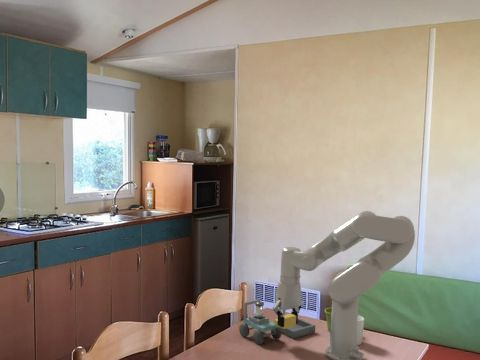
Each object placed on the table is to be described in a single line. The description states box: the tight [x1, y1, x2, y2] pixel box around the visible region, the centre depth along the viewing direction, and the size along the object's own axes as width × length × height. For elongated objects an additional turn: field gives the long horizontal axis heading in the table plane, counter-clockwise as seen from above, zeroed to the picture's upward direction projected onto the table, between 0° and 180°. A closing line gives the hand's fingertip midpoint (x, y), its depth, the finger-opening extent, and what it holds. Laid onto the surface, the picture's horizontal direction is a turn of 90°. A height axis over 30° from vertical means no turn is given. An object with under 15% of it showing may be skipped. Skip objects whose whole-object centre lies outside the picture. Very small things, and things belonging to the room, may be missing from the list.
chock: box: [273, 313, 296, 329], centre depth 177 cm, size 6×6×4 cm
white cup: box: [356, 314, 365, 346], centre depth 181 cm, size 8×8×10 cm
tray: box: [272, 317, 316, 340], centre depth 191 cm, size 13×13×3 cm
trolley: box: [238, 299, 282, 346], centre depth 182 cm, size 14×10×14 cm
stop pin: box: [254, 300, 265, 320], centre depth 183 cm, size 4×4×8 cm
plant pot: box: [324, 307, 332, 333], centre depth 192 cm, size 9×9×9 cm
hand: (287, 324), depth 176 cm, fingers closed on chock, 6 cm apart
